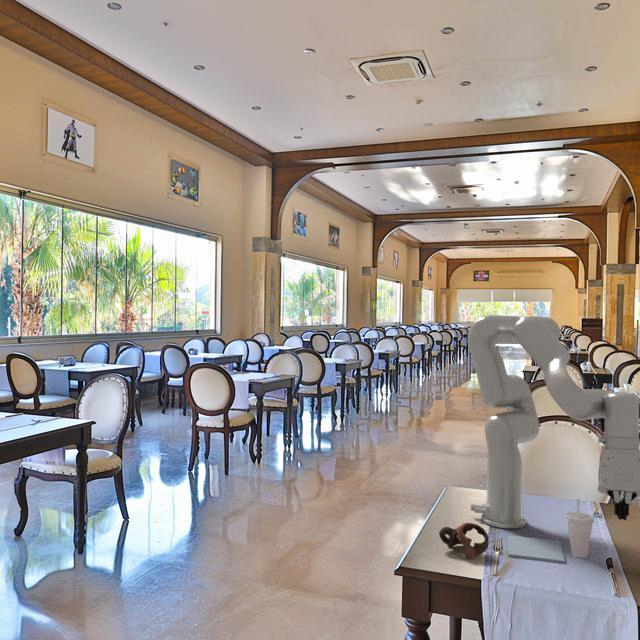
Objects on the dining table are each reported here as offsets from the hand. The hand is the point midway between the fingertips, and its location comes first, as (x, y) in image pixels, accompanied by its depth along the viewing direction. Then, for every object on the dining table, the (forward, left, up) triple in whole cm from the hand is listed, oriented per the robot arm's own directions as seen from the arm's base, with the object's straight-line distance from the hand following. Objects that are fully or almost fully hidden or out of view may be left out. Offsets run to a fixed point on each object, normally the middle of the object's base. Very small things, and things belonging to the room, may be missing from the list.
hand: (621, 518), depth 149 cm
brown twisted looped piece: (-37, -8, -11) cm, 39 cm away
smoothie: (-9, 0, -11) cm, 14 cm away
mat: (-20, 0, -10) cm, 22 cm away
